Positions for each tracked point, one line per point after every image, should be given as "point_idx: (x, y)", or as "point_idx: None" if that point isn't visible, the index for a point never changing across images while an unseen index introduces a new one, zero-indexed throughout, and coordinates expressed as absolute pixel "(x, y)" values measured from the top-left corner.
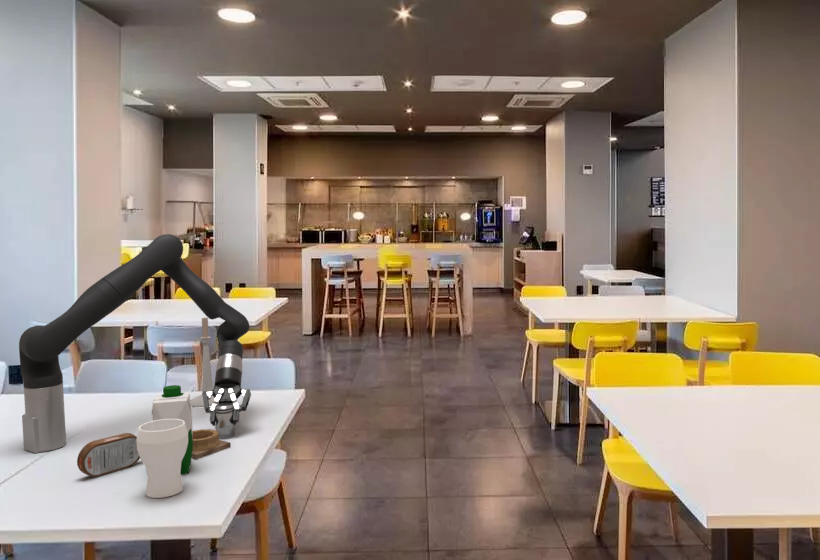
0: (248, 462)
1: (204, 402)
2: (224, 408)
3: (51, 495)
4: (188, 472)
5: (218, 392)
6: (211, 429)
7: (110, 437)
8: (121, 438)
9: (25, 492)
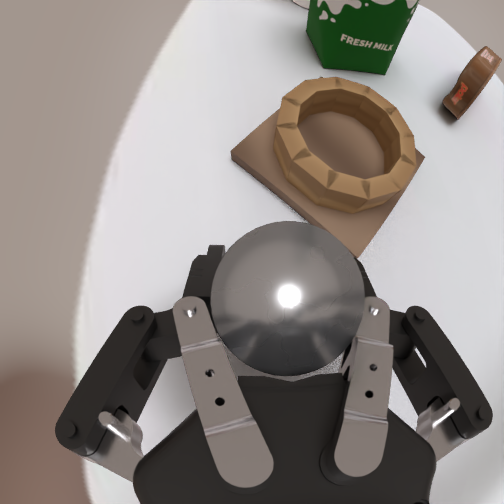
0: (176, 57)
1: (445, 344)
2: (277, 224)
3: (463, 55)
4: (306, 29)
5: (384, 427)
6: (324, 187)
7: (495, 63)
8: (477, 53)
9: (494, 80)
